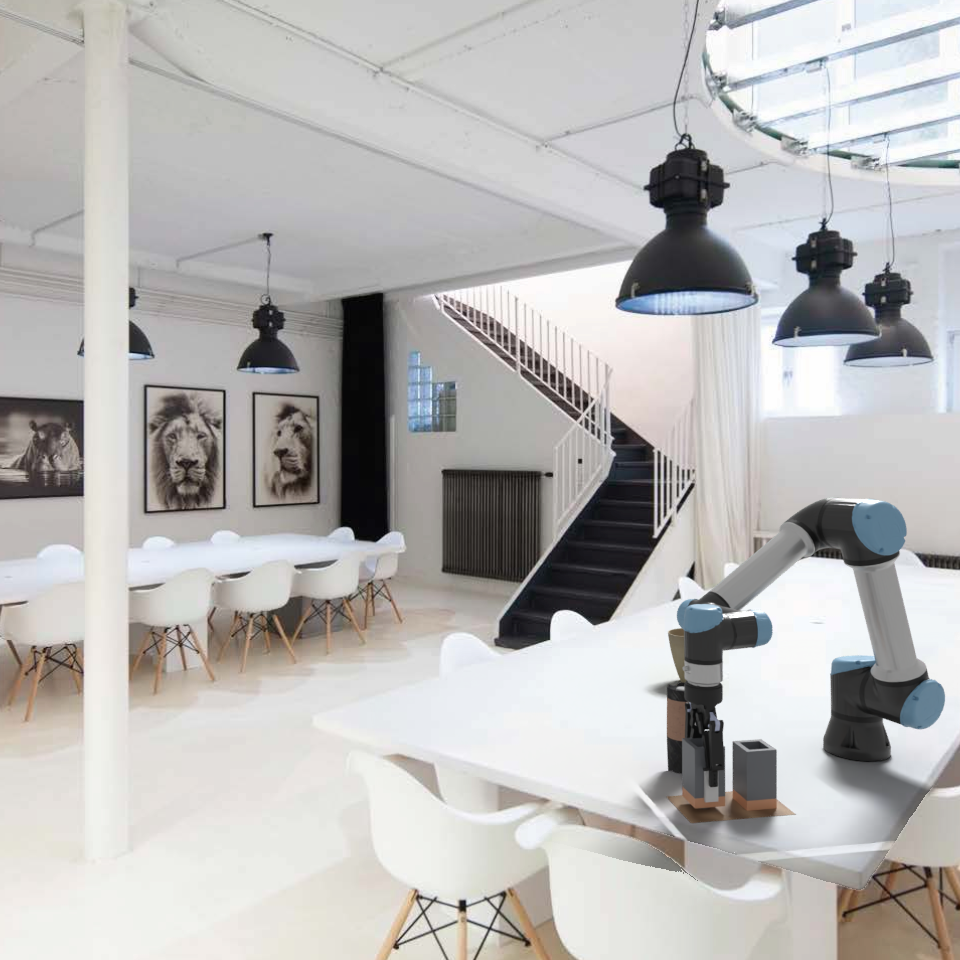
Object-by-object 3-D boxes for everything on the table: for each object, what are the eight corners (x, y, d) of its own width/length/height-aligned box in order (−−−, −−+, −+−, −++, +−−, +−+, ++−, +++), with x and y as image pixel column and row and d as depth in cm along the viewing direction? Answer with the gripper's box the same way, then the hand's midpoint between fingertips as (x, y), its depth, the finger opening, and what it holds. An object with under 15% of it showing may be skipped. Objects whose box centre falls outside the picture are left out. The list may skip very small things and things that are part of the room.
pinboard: (763, 794, 181) (763, 756, 180) (795, 820, 168) (795, 779, 168) (666, 802, 177) (665, 763, 177) (691, 829, 164) (690, 787, 164)
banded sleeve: (711, 793, 175) (711, 736, 175) (725, 806, 169) (725, 746, 169) (682, 795, 174) (682, 738, 174) (694, 808, 168) (694, 748, 168)
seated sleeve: (761, 795, 177) (761, 739, 177) (776, 808, 171) (776, 749, 170) (732, 798, 176) (732, 741, 176) (747, 810, 170) (746, 751, 169)
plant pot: (711, 675, 277) (711, 627, 277) (719, 688, 262) (719, 637, 262) (665, 675, 279) (665, 627, 278) (671, 687, 264) (670, 636, 263)
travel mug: (698, 781, 188) (698, 692, 188) (664, 777, 191) (663, 689, 190) (703, 769, 195) (702, 683, 195) (669, 765, 198) (669, 680, 198)
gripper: (667, 670, 180) (668, 777, 181) (706, 696, 161) (706, 815, 161) (701, 668, 181) (701, 775, 182) (742, 694, 162) (743, 812, 163)
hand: (703, 793), depth 172 cm, fingers closed on banded sleeve, 6 cm apart
